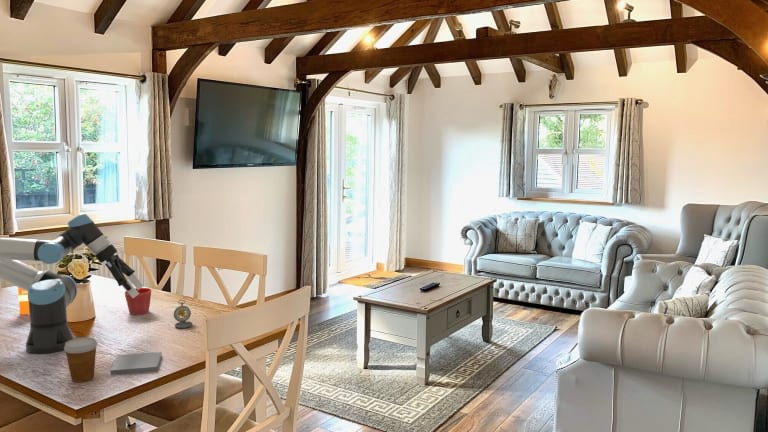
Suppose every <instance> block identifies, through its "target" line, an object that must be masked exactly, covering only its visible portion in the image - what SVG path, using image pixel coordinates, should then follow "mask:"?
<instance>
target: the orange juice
mask: <svg viewBox="0 0 768 432" xmlns="http://www.w3.org/2000/svg"><path fill="white" fill-rule="evenodd" d="M29 266H31V267H33V268H35V267H34V266H33V265H32V264H30V265H29ZM17 290H18V292H17V293H18V306H19V315H20V314H27V313H29V301H28V292H27V291H25V290H23V289H21V288H19V287H17Z"/></svg>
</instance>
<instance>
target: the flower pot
mask: <svg viewBox="0 0 768 432" xmlns="http://www.w3.org/2000/svg"><path fill="white" fill-rule="evenodd" d="M134 288H135V289H136V290H137V292H138V293H139V294H138V295H137V296H136V297H134V298H132V297H131V296H130V294H129V293H128V292H127V291H126V290H125V291H124V296H125V301H126V304H127V305H126V306H127V309H128V312H129V314H130V315H132V316H139V315H140V316H141V315H146V314H148V313H149V312H150V306H151V298H152V297H151V296H152V288H149V287H142V288H140V289H139V290H138V289H137V288H136V287H134Z"/></svg>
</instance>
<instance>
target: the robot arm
mask: <svg viewBox="0 0 768 432" xmlns="http://www.w3.org/2000/svg"><path fill="white" fill-rule="evenodd" d="M67 226H68V229H66V230H64V231H63V232H61V233H59V235H57V236H56V237H54V238H52V239H51V240H48V239H45V240H44V239H33V238H30V239H29V238H14V237H13V238H12V237H0V280H1V281H4V282H6V283H9V284H11V285H13V286H15V287H17V288H18V287H19V288H21V289H23V290H25V291H27V292H28V301H29V314H28V315H29V324H30V325H29V326H30V327H29V328H30V329H29V332H28V335H27V338H26V339H27V340H26V343H25V349H26V351H27V352H28V353H30V354H50V353H55V352H60V351H65V350H64V347H65V343H66V342H68V341H70V340H73V339H75V338H74V335H73V333H72V330H71V329H70V327H69V324H68V316H67V307H68V306H69V305H70V304H72V303H73V302H74V300H75V298H76V297H77V295H78V286H77V283H76V281H75V280H74V279H73V278H72V277H71V276H69V275H66V274H56V273H55V272H53V271H50V270H48V269H45V270H39V269H37V268H35V267H34V266H33V267H34V268H33V267H31V266H30V265H29V264H27V263H24V262H23V261H35V262H42V263H44V264H46V265H53V264H55V263H58V262H59V261H61V260H63V258H65V257H66V256H67V255H69V254H70V253H71V252H73V251H74V250H77V248H79V247H80V246H81V245H82V244H84V246H86V248H87V249H88V250H89V251H90V252H91V254H92V255H94V257H95V259H96V260H97V261H98V262H99V263H100V264H102V263H104V262H106V263H104V265H105V267H106V268H107V269H108V270H109V272H110V273H111V275H112V277H113V278H114V280H115V281H116V282H117V284H118V286H119V287H121V286H122V287H123V289H125V291H127V292H128V293H129V294H130V296H131V297H132V298H134V297H136V296H137V295H138V294H139V293H138V292H137V290H136V289H135V288H137V289H138V290H139V289H140V288H144V286H145V285H144V284H143V283H142V281H140V279H139V278H138V276H136V274H135V272H136V271H135V269H133V268H131V267H130V266H129V265H128V263H126V262H125V261H124V260H123V259H121V257H120V256H119V255H118V254H117V253H118V250H117V248H116V247H115V246H114V245H113V244H112V243H111V241H110V240H109V239H108V238H109V237H108V236H107V235H105V234H104V233H103V232H102V231H101V230H100V228H99V227H98V226H97V225H96V223H95V222H94V221H93V220H92V219H91V217H89V216H88V214H87V213H85V212H82V213H80V214H78V215H77V216H75V217H73V218H72V219H71V220H70V221H68V222H67ZM110 243H111V244H110Z"/></svg>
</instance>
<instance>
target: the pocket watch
mask: <svg viewBox="0 0 768 432" xmlns="http://www.w3.org/2000/svg"><path fill="white" fill-rule="evenodd" d="M182 301H183V302H182ZM185 303H186V301H185V299H180V300H179V301H178V304H179V305H180V306H178V307H176V308H175V309H174V311H173V318H174V319H175V321H177V322H176V323H175V324H174V327H175V328H178V329H185V328H190V327H191V326H193V322H191V321H188V320H189V319H190V318H191V315H192V313H191V309H190V308H189V307H188V306H186V305H184V304H185Z"/></svg>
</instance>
